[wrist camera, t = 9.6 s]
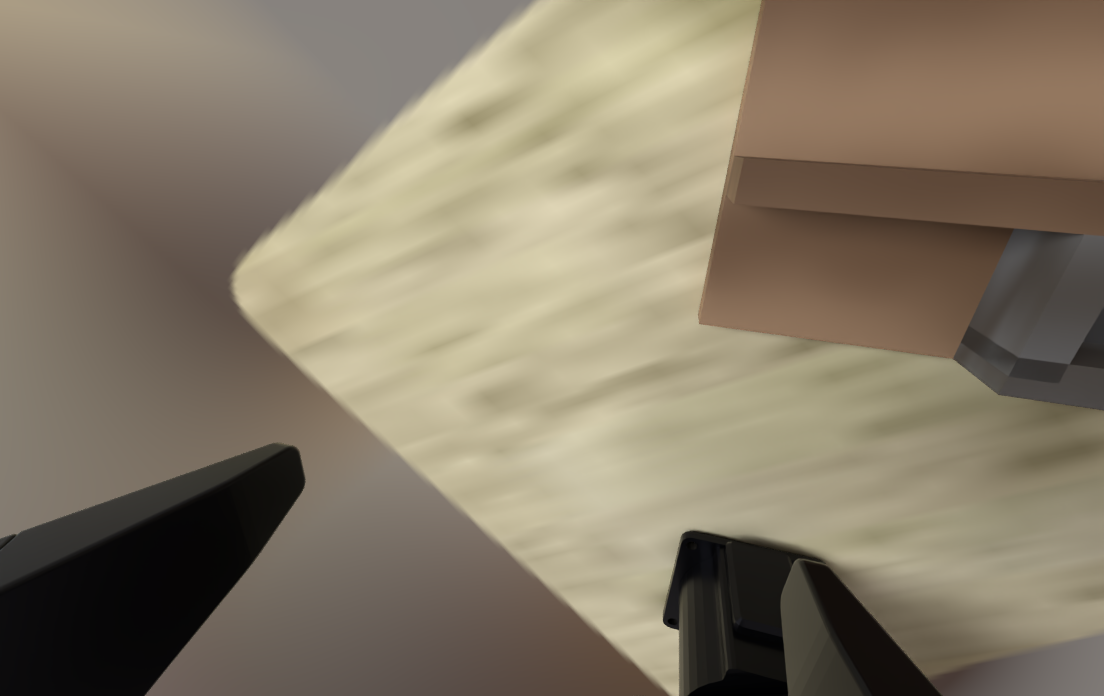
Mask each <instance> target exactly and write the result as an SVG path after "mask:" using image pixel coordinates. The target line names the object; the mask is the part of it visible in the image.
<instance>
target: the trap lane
mask: <svg viewBox="0 0 1104 696" xmlns="http://www.w3.org/2000/svg"><path fill="white" fill-rule="evenodd" d="M698 318H699V324H703V325H711V326H718V327H725V328H733V329H740V330H747V331H755V332H762V333H769V334H776V335H784V336H791V337H798V338H806V339H813V340H820V341H828V342H835V343H842V344H850V345H857V346H864V347H872V348H879V349H886V350H894V351H901V352H908V353H916V354H923V355H930V356H938V357H945V358H952V359H954V360H955V361H957V362H958V363H959V364H960V365H962V366H963V367H964V368H965V369H967V370H968V371H969V372H971V373H972V374H973V375H974V376H976V377H977V378H978V379H979V380H981V381H982V382H983V383H984V384H986V385H987V386H988V387H989V388H991V389H992V390H993V391H994V392H996V393H997V394H998V395H1004V396H1011V397H1017V398H1024V399H1031V400H1038V401H1044V402H1051V403H1058V404H1065V405H1072V406H1078V407H1085V408H1092V409H1099V410H1104V0H762V2H761V7H760V12H759V17H758V22H757V27H756V32H755V37H754V42H753V47H752V52H751V57H750V61H749V66H748V71H747V76H746V81H745V86H744V91H743V96H742V101H741V106H740V111H739V116H738V121H737V126H736V131H735V136H734V141H733V145H732V150H731V155H730V160H729V165H728V170H727V175H726V180H725V185H724V190H723V195H722V200H721V205H720V210H719V215H718V220H717V224H716V229H715V234H714V239H713V244H712V249H711V254H710V259H709V264H708V269H707V274H706V279H705V284H704V289H703V294H702V299H701V304H700V308H699V313H698Z"/></svg>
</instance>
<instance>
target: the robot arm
mask: <svg viewBox="0 0 1104 696" xmlns="http://www.w3.org/2000/svg"><path fill="white" fill-rule="evenodd" d="M304 486H305V474H304V469H303V465H302V460H301V455H300V452H299V450H298V448H297V447H295V446H293V445H288V444H284V443H272V444H269V445H266V446H263V447H261V448H258V449H255V450H252V451H249V452H246V453H243V454H241V455H238V456H235V457H232V458H229V459H226V460H224V461H221V462H218V463H215V464H212V465H209V466H207V467H204V468H201V469H198V470H195V471H192V472H189V473H186V474H184V475H181V476H178V477H175V478H172V479H170V480H166V481H164V482H161V483H158V484H155V485H152V486H149V487H147V488H144V489H141V490H138V491H135V492H132V493H129V494H127V495H124V496H121V497H118V498H115V499H112V500H110V501H107V502H104V503H101V504H98V505H95V506H93V507H89V508H87V509H84V510H81V511H78V512H75V513H72V514H70V515H67V516H64V517H61V518H58V519H55V520H53V521H50V522H47V523H44V524H41V525H38V526H35V527H33V528H30V529H27V530H24V531H21V532H20V533H19V534H18V535H16V534H12V535H9V536H7V537H4V538H1V539H0V696H145V695H146V694H147V692H148V691H149V690H150V689H151V687H152V686H153V685H154V684H155V683H156V681H157V680H158V679H159V678H160V676H161V675H162V674H163V673H164V672H165V670H166V669H167V668H168V667H169V665H170V664H171V663H172V662H173V660H174V659H175V658H176V657H177V656H178V654H179V653H180V652H181V651H182V650H183V648H184V647H185V646H186V645H187V644H188V642H189V641H190V640H191V639H192V637H193V636H194V635H195V634H196V632H197V631H198V630H199V629H200V628H201V626H202V625H203V624H204V623H205V621H206V620H207V619H208V618H209V617H210V615H211V614H212V613H213V612H214V611H215V609H216V608H217V607H218V605H219V604H220V603H221V602H222V601H223V599H224V598H225V597H226V596H227V595H228V593H229V592H230V591H231V590H232V589H233V587H234V586H235V585H236V583H237V582H238V581H239V580H240V579H241V578H242V576H243V575H244V574H245V573H246V571H247V570H248V569H249V567H250V566H251V565H252V564H253V562H254V561H255V559H256V558H257V557H258V555H259V554H260V553H261V551H262V550H263V548H264V547H265V545H266V544H267V543H268V541H269V540H270V538H271V537H272V535H273V534H274V532H275V531H276V529H277V528H278V526H279V525H280V524H281V522H282V521H283V519H284V518H285V516H286V515H287V513H288V512H289V510H290V509H291V507H292V506H293V505H294V503H295V502H296V500H297V499H298V497H299V496H300V494H301V493H302V491H303V489H304ZM689 542H694V543H689ZM663 622H664V624H665V625H666V626H667V627H670V628H673V629H677V630H679V696H942V694H941V693H940V692H939V691H938V690H937V689H936V688H935V686H934V685H933V684H932V683H931V682H930V681H929V680H928V678H927V677H926V676H925V675H924V674H923V673H922V672H921V671H920V669H919V668H918V667H917V666H916V665H915V664H914V663H913V661H912V660H911V659H910V658H909V657H908V656H907V655H906V654H905V652H904V651H903V650H902V649H901V648H900V647H899V646H898V644H897V643H896V642H895V641H894V640H893V639H892V638H891V637H890V635H889V634H888V633H887V632H886V631H885V630H884V629H883V627H882V626H881V625H880V624H879V623H878V622H877V621H876V620H875V618H874V617H873V616H872V615H871V614H870V613H869V612H868V610H867V609H866V608H865V607H864V606H863V605H862V604H861V603H860V601H859V600H858V599H857V598H856V597H855V596H854V595H853V593H852V592H851V591H850V590H849V589H848V588H847V587H846V586H845V584H844V583H843V582H842V581H841V580H840V579H839V578H838V576H837V575H836V574H835V573H834V572H833V571H832V570H831V569H830V568H829V567H828V566H827V565H826V564H825V563H824V562H823V561H821V560H818V559H814V558H810V557H805V556H801V555H796V554H792V553H787V552H783V551H778V550H774V549H769V548H765V547H760V546H756V545H751V544H747V543H742V542H738V541H733V540H729V539H724V538H720V537H715V536H711V535H706V534H702V533H697V532H691V531H689V532H685V533H684V534H682V536H681V539H680V543H679V547H678V552H677V556H676V560H675V564H674V569H673V573H672V577H671V581H670V585H669V590H668V594H667V598H666V602H665V607H664V611H663Z"/></svg>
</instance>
